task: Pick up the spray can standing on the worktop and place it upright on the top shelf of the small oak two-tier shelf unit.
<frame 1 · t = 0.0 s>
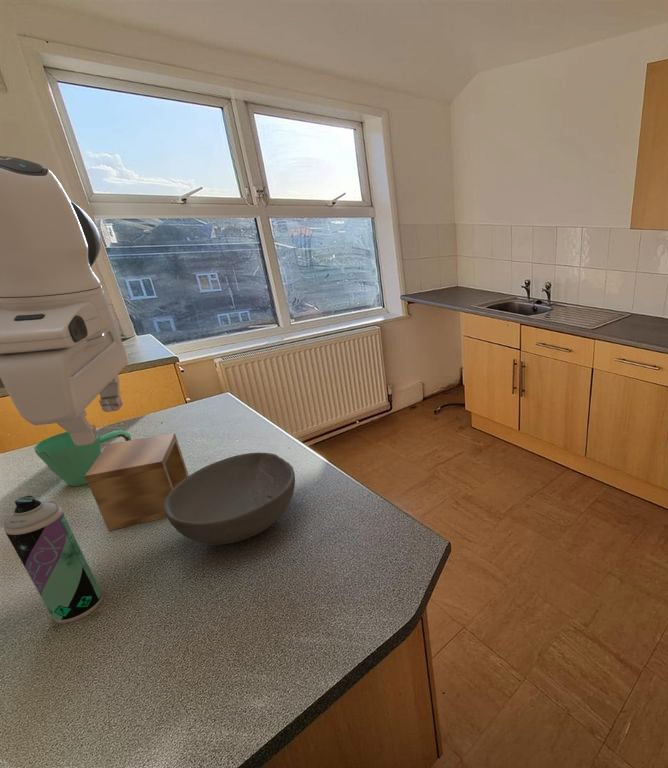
hand: (101, 424, 54), 31 cm above the counter, tool pointing down, fingers open, 8 cm apart
mug: (99, 476, 96), on the counter
shelf unit: (152, 504, 87), on the counter
spray can: (79, 608, 65), on the counter
bowl: (244, 526, 82), on the counter
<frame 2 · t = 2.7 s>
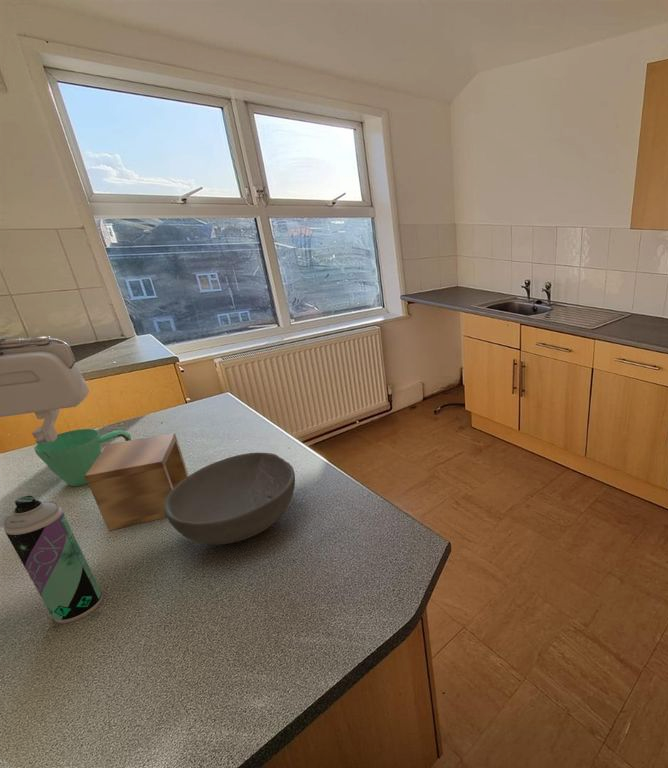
nothing on the counter moved.
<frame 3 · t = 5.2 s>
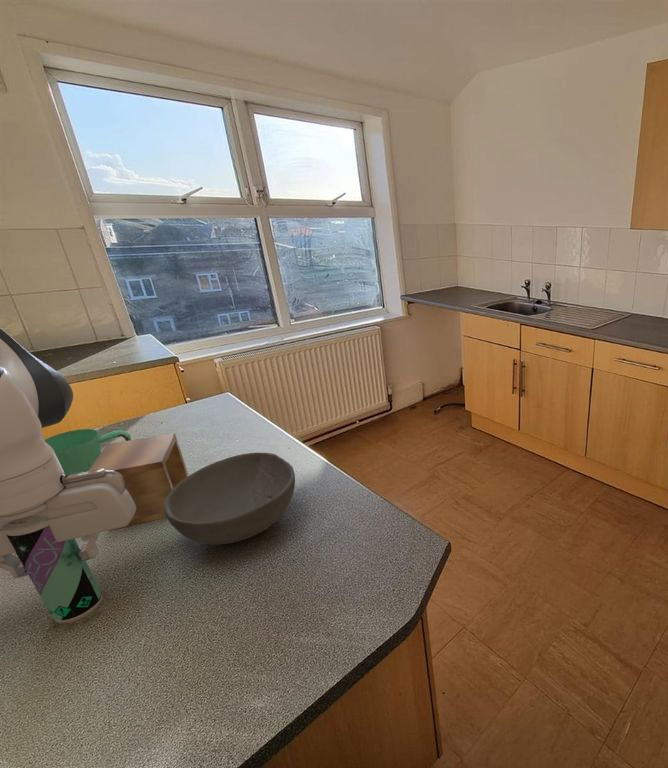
hand: (58, 565, 62), 9 cm above the counter, tool pointing down, fingers open, 6 cm apart
spray can: (79, 608, 65), on the counter, touching arm, gripper
everything else where it was.
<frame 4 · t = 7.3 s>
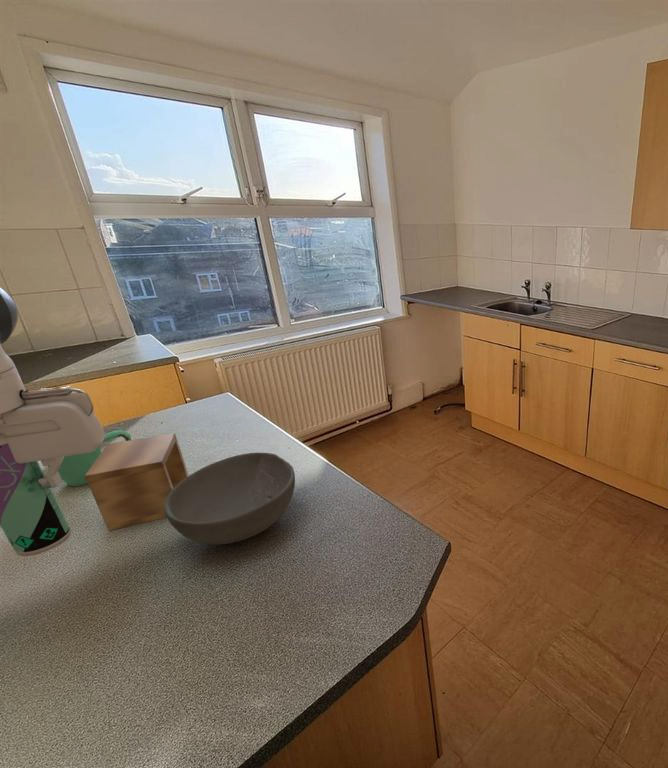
hand: (17, 491, 57), 21 cm above the counter, tool pointing down, fingers closed on spray can, 5 cm apart
spray can: (45, 542, 60), point 12 cm above the counter, touching arm, gripper
everything else where it was.
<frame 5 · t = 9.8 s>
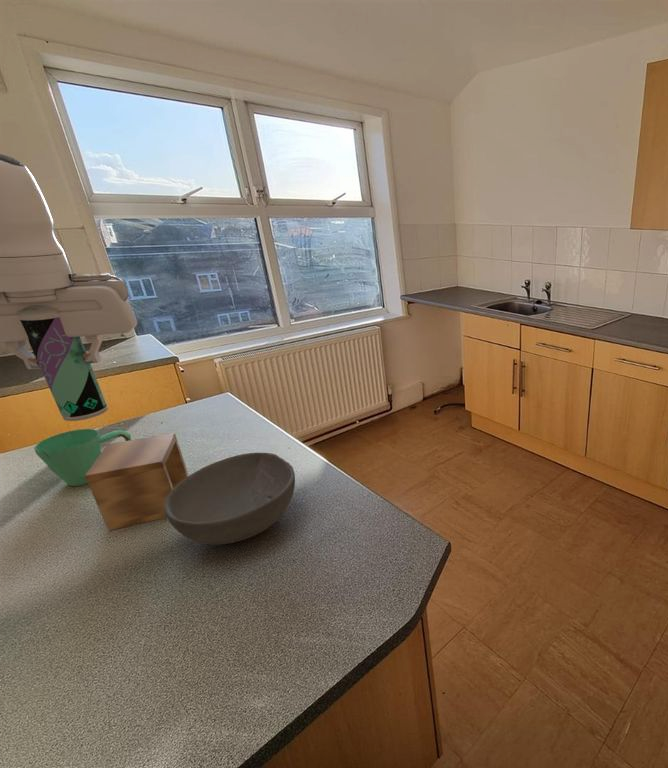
hand: (65, 365, 67), 33 cm above the counter, tool pointing down, fingers closed on spray can, 5 cm apart
spray can: (86, 414, 71), point 24 cm above the counter, touching arm, gripper
everything else where it was.
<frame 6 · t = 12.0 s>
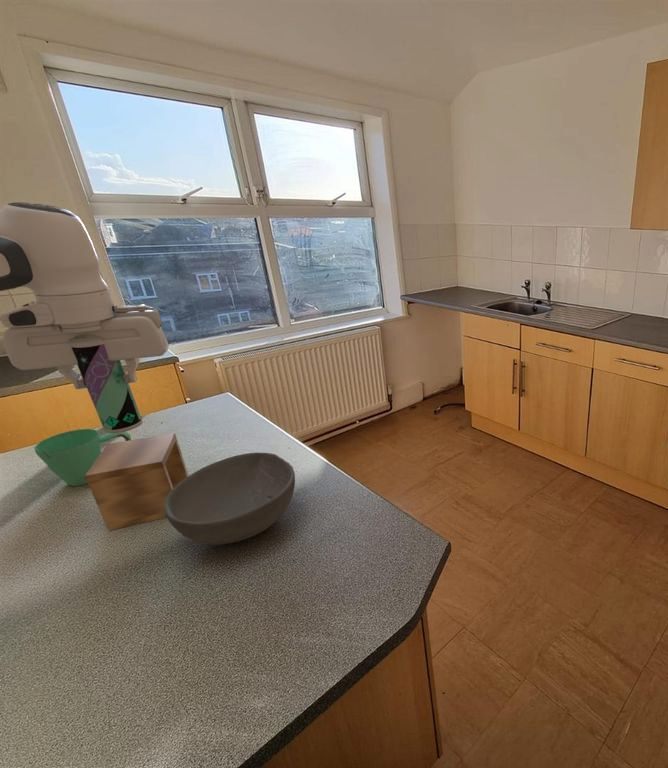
hand: (107, 384, 77), 26 cm above the counter, tool pointing down, fingers closed on spray can, 5 cm apart
spray can: (124, 427, 80), point 18 cm above the counter, touching arm, gripper
everything else where it was.
when the fingers open (21 cm above the counter, at t = 13.8 s): spray can stays where it is, resting on shelf unit.
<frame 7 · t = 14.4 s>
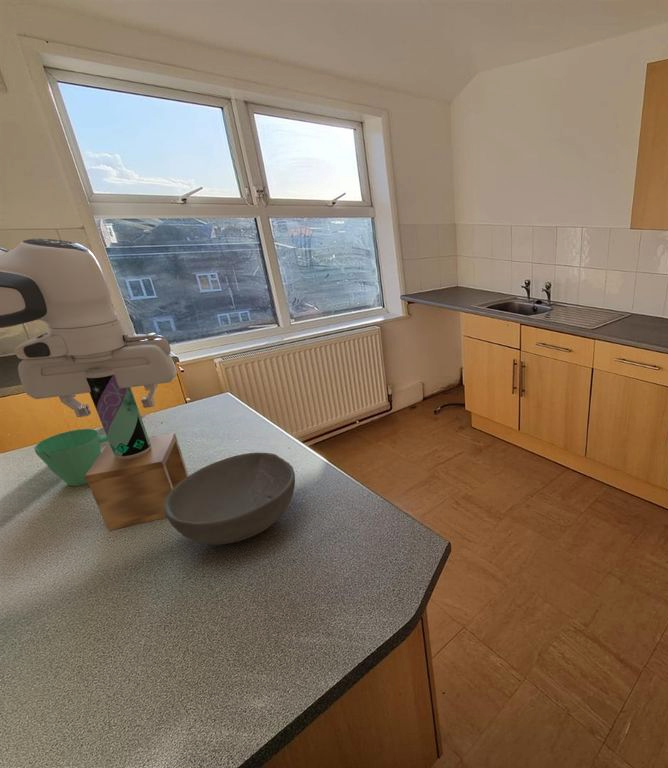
hand: (118, 410, 79), 21 cm above the counter, tool pointing down, fingers open, 8 cm apart
spray can: (134, 452, 83), point 12 cm above the counter, touching shelf unit
everything else where it was.
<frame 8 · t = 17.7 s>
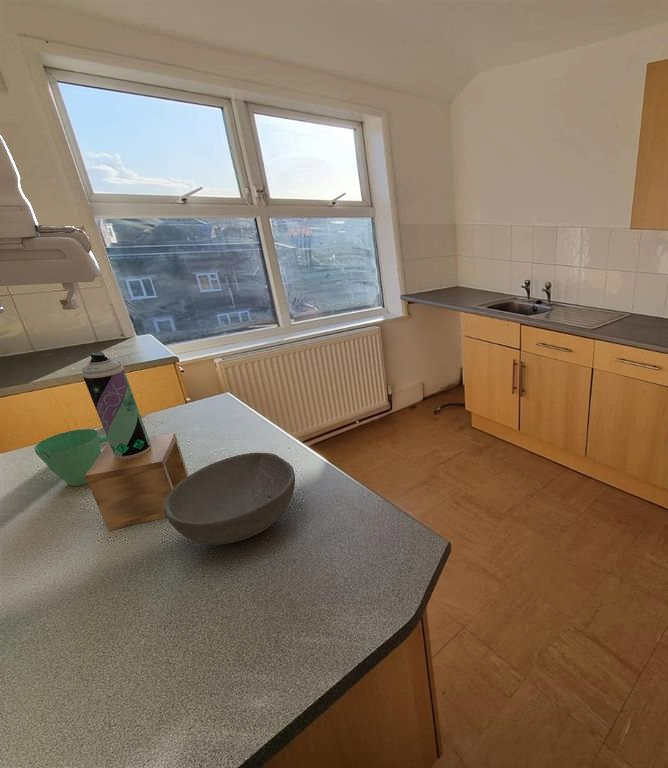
hand: (34, 311, 74), 39 cm above the counter, tool pointing down, fingers open, 8 cm apart
nothing on the counter moved.
at the end: spray can inside the target area on the shelf unit (0.1 cm from its centre), point 12.0 cm above the shelf unit's base; spray can tilted 0°; the gripper is holding nothing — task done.
